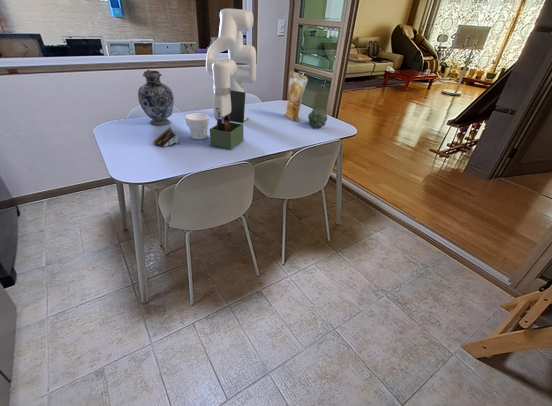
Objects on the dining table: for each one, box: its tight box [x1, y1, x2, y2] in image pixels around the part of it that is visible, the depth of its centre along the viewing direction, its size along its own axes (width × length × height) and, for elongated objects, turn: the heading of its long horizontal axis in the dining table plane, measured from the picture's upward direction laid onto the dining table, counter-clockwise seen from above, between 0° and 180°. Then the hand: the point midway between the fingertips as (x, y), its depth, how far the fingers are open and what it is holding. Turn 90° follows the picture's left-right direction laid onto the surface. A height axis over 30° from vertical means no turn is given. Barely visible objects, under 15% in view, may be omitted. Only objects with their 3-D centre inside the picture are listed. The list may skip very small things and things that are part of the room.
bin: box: [209, 121, 244, 151], centre depth 149 cm, size 15×12×9 cm
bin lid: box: [229, 90, 246, 124], centre depth 149 cm, size 15×12×1 cm
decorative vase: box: [137, 69, 175, 126], centre depth 163 cm, size 21×19×28 cm
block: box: [216, 120, 231, 132], centre depth 144 cm, size 5×5×5 cm
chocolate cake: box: [152, 126, 180, 148], centre depth 145 cm, size 10×7×12 cm
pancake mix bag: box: [285, 70, 309, 122], centre depth 186 cm, size 7×19×28 cm, turn 26°
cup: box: [184, 112, 210, 140], centre depth 153 cm, size 12×12×11 cm
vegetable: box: [307, 107, 328, 129], centre depth 180 cm, size 12×13×15 cm
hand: (224, 128), depth 144 cm, fingers closed on block, 4 cm apart
